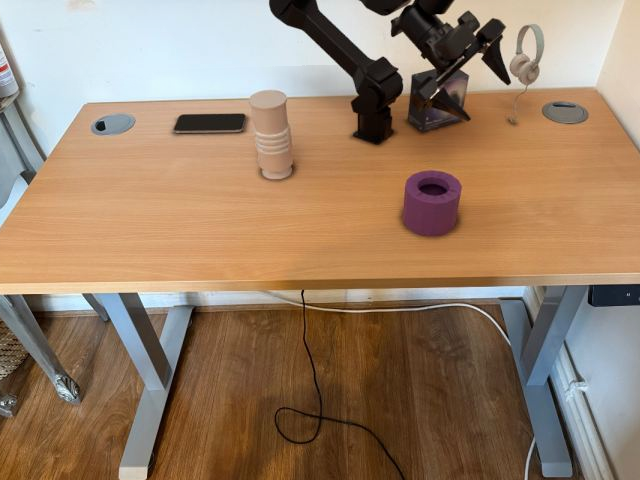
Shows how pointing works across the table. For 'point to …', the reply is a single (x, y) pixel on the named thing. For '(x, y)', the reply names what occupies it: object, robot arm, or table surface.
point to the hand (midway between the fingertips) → (489, 102)
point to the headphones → (527, 59)
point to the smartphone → (209, 123)
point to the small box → (434, 117)
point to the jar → (431, 202)
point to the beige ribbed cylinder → (272, 133)
